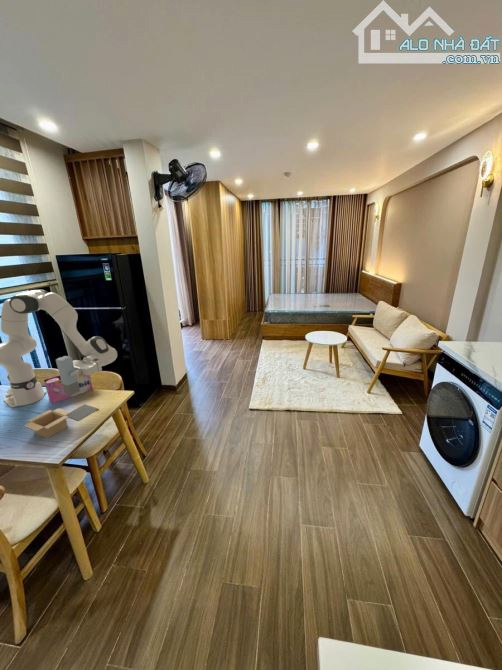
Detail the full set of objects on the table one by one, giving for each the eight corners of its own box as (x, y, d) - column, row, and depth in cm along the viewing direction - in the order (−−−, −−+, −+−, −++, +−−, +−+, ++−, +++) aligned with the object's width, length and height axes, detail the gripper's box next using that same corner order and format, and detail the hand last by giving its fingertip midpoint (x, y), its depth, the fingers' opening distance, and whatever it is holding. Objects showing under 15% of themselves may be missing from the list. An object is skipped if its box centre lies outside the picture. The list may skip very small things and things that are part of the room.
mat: (64, 416, 142) (63, 415, 142) (84, 405, 152) (84, 404, 152) (78, 421, 137) (78, 420, 137) (98, 409, 148) (98, 408, 148)
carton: (24, 435, 127) (20, 424, 125) (58, 417, 141) (55, 406, 139) (44, 444, 121) (40, 432, 119) (77, 424, 135) (74, 413, 133)
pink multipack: (91, 385, 176) (87, 367, 172) (95, 389, 171) (91, 370, 167) (48, 399, 159) (43, 379, 155) (51, 404, 154) (46, 383, 150)
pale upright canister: (64, 393, 137) (55, 359, 131) (74, 389, 141) (65, 355, 135) (70, 395, 135) (61, 360, 129) (80, 390, 140) (71, 357, 133)
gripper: (77, 355, 149) (51, 365, 137) (101, 360, 141) (77, 371, 129) (79, 365, 151) (54, 375, 139) (103, 371, 143) (79, 382, 131)
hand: (65, 373), depth 134 cm, fingers closed on pale upright canister, 5 cm apart
